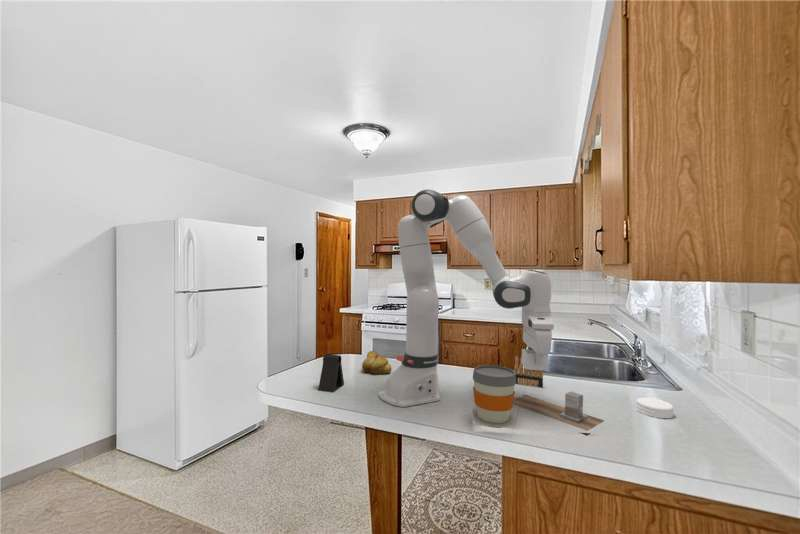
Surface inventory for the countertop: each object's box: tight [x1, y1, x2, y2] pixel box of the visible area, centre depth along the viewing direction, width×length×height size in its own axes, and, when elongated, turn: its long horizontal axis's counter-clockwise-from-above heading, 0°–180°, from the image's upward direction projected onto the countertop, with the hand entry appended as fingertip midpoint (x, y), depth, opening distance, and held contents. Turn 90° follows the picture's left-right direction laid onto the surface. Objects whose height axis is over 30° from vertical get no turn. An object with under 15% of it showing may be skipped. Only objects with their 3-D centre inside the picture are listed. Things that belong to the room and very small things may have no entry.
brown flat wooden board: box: [513, 391, 605, 437], centre depth 115 cm, size 11×26×8 cm, turn 39°
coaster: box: [635, 396, 675, 419], centre depth 119 cm, size 10×10×4 cm
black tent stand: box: [317, 353, 345, 393], centre depth 135 cm, size 9×6×12 cm, turn 164°
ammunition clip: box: [513, 355, 544, 389], centre depth 139 cm, size 11×2×12 cm, turn 67°
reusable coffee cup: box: [472, 364, 517, 429], centre depth 109 cm, size 13×13×15 cm
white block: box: [521, 348, 549, 371], centre depth 120 cm, size 7×7×6 cm
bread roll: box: [361, 350, 392, 375], centre depth 155 cm, size 13×10×8 cm
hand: (534, 361), depth 120 cm, fingers closed on white block, 7 cm apart
